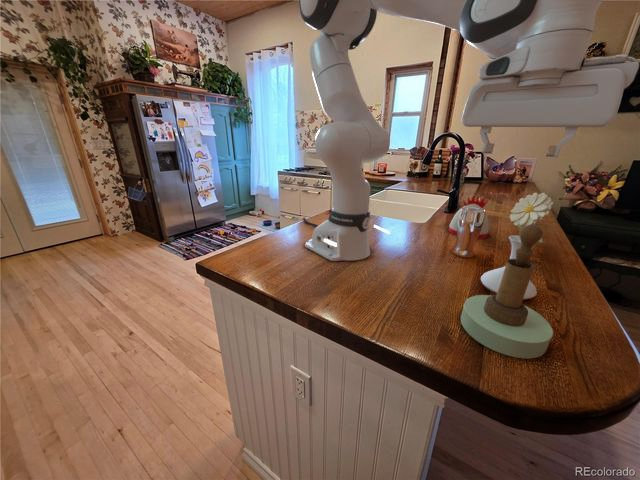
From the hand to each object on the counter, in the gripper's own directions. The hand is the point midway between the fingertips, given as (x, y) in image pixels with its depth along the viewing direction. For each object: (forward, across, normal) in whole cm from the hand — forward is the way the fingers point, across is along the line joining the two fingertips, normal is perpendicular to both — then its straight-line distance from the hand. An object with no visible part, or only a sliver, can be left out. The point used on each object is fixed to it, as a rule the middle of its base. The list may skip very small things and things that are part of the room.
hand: (517, 155), depth 45 cm
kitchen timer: (+33, +13, -54) cm, 64 cm away
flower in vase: (+32, -5, -12) cm, 35 cm away
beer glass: (+33, +9, -30) cm, 45 cm away
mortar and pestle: (+29, -6, +5) cm, 30 cm away
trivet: (+32, -6, +5) cm, 33 cm away
